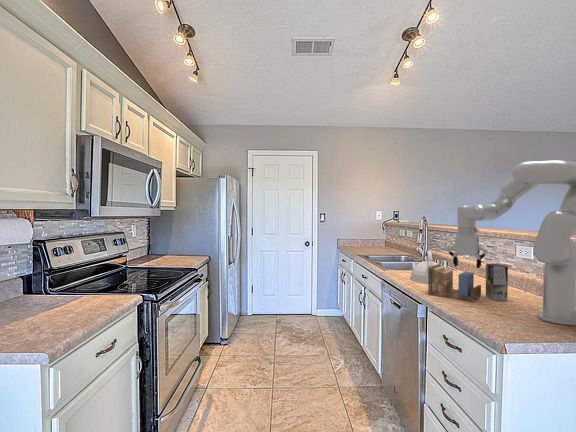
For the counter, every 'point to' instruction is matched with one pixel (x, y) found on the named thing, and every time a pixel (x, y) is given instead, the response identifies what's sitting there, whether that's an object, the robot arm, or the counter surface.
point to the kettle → (422, 269)
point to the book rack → (447, 285)
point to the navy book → (465, 283)
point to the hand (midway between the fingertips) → (466, 266)
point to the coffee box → (497, 281)
